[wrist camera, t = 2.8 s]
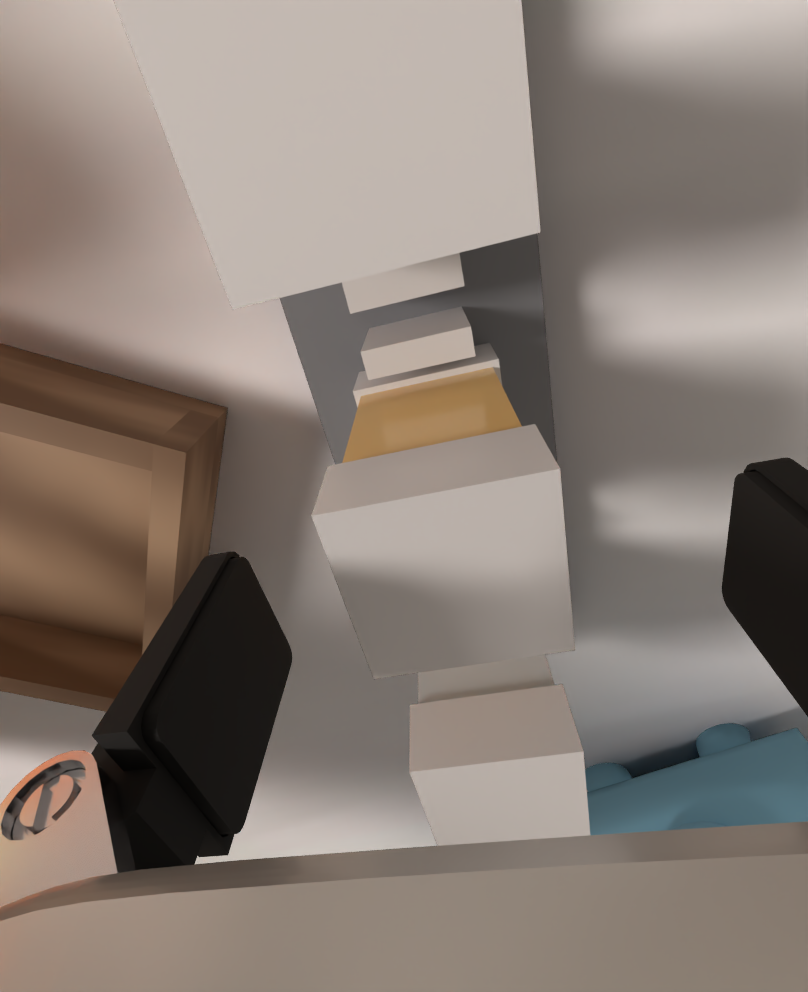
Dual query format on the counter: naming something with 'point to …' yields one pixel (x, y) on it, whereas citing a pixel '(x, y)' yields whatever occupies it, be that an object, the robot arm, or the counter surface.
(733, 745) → the teakettle
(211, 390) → the counter surface
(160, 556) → the walnut tray
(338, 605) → the counter surface
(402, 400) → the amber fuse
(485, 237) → the block
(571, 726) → the block
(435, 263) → the fuse holder
